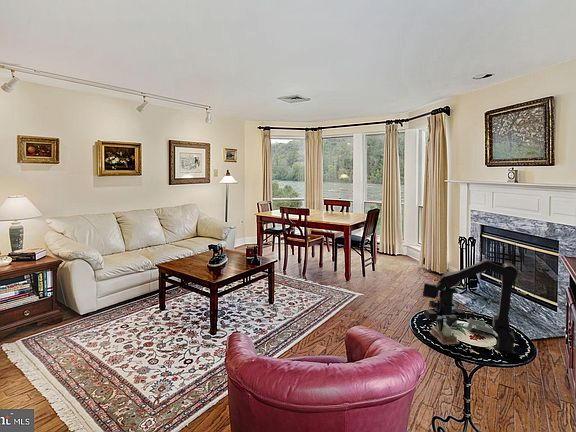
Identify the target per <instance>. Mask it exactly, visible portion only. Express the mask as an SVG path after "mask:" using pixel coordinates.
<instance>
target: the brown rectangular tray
mask: <svg viewBox="0 0 576 432" xmlns="http://www.w3.org/2000/svg"><path fill="white" fill-rule="evenodd" d="M429 333H430V334H431V335H432V336H433V337H434V338H435V339H436V338H437V339H436V340H437V341H439V343H441V344H442V345H459V344H460V341H459V340H458V337H457V336H456V335H455V333H454V332H451V336H450V337H445V336H443V335H442V334H441V333H440V332H439V331H438V330H437V326H432V327H431V329H430V330H429Z"/></svg>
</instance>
